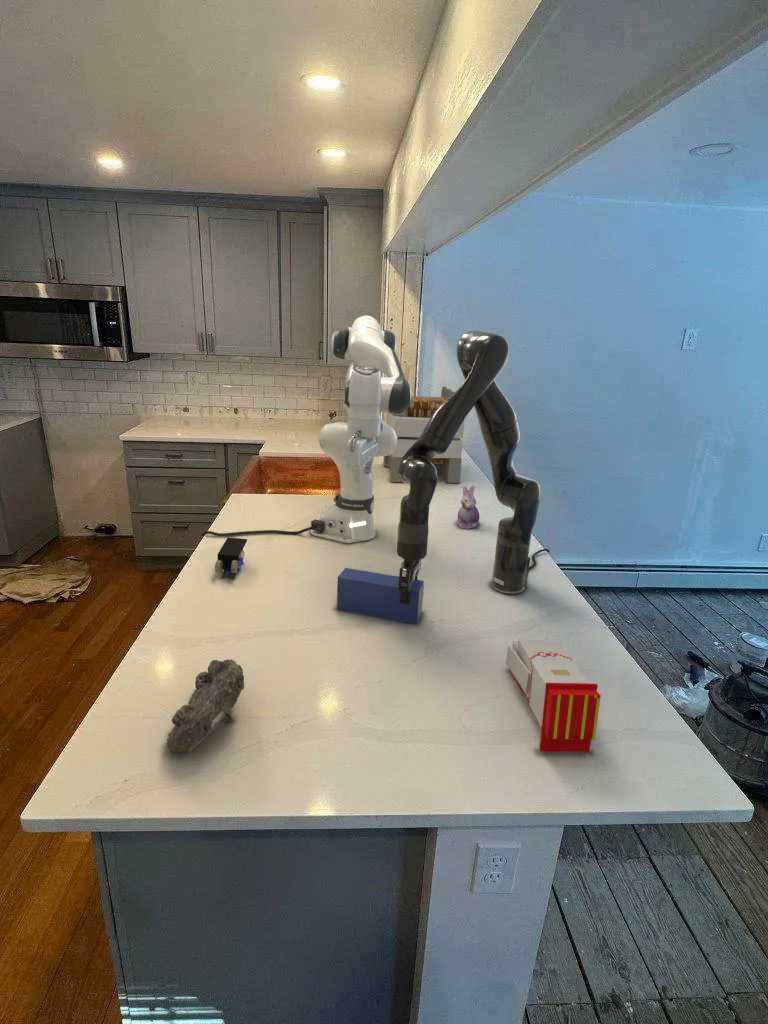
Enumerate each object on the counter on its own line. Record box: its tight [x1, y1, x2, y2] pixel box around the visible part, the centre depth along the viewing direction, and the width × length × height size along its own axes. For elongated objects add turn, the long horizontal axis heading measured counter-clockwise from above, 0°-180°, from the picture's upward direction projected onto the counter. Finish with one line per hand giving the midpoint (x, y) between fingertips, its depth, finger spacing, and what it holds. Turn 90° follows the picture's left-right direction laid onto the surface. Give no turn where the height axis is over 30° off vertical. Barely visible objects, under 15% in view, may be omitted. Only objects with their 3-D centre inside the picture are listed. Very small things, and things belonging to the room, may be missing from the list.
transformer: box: [383, 386, 465, 484], centre depth 268 cm, size 34×33×41 cm
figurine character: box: [214, 537, 248, 578], centre depth 166 cm, size 7×8×15 cm
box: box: [336, 567, 425, 625], centre depth 147 cm, size 22×6×9 cm, turn 74°
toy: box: [505, 638, 602, 753], centre depth 114 cm, size 12×13×30 cm
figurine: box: [456, 484, 480, 530], centre depth 209 cm, size 9×10×15 cm
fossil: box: [166, 658, 245, 754], centre depth 106 cm, size 22×10×15 cm
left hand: (362, 477), depth 158 cm, fingers open, 8 cm apart
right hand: (408, 595), depth 145 cm, fingers open, 8 cm apart
